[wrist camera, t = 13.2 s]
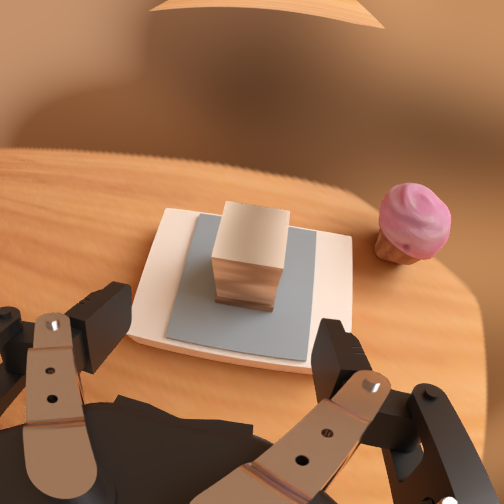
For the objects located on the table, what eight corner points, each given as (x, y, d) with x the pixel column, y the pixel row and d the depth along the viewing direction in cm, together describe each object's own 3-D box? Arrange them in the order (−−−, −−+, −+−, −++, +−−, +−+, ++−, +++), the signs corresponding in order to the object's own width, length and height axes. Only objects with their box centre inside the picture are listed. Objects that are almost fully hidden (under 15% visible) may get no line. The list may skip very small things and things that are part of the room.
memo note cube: (215, 302, 26) (207, 259, 19) (226, 253, 28) (223, 198, 21) (272, 312, 26) (286, 272, 19) (279, 261, 28) (293, 209, 21)
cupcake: (369, 210, 38) (398, 157, 29) (423, 238, 36) (461, 192, 27) (352, 263, 34) (387, 211, 25) (414, 293, 32) (461, 251, 23)
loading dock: (137, 342, 28) (122, 331, 24) (172, 228, 35) (165, 204, 31) (334, 376, 27) (350, 370, 23) (340, 254, 34) (353, 233, 30)
